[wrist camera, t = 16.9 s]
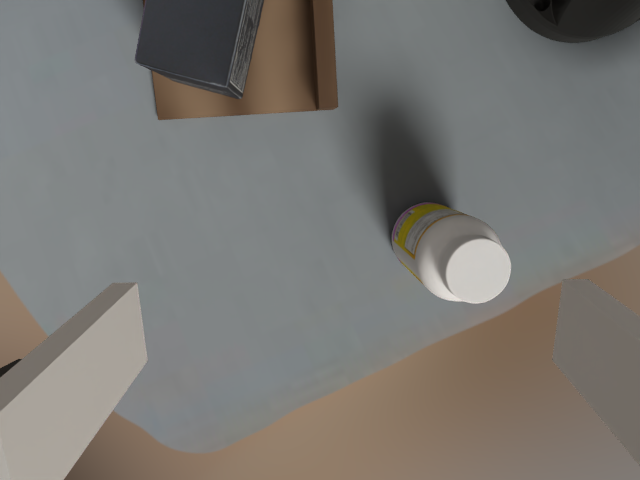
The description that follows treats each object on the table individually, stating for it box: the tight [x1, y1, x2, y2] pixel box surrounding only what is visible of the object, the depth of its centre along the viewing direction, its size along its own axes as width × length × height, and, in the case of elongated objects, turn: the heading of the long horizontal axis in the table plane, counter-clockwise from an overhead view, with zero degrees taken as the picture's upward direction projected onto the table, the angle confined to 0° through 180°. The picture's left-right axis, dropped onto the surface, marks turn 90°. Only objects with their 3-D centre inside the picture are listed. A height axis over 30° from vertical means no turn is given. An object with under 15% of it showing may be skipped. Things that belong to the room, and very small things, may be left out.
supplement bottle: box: [392, 202, 511, 303], centre depth 40 cm, size 7×7×13 cm
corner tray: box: [143, 0, 338, 120], centre depth 39 cm, size 15×16×4 cm
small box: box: [135, 0, 264, 99], centre depth 35 cm, size 11×6×10 cm, turn 166°
